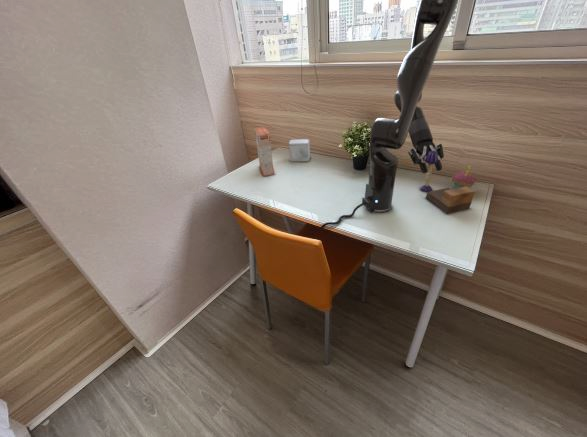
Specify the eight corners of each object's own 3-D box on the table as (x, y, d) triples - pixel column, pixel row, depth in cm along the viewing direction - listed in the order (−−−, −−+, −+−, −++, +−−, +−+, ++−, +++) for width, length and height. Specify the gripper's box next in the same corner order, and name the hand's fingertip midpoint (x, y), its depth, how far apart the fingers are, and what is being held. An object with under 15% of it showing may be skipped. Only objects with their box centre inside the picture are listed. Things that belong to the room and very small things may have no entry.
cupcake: (475, 194, 107) (485, 166, 100) (452, 194, 109) (460, 166, 102) (468, 184, 114) (477, 157, 107) (446, 184, 116) (453, 157, 109)
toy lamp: (425, 193, 111) (434, 154, 102) (416, 189, 114) (424, 151, 105) (433, 190, 113) (443, 151, 103) (424, 186, 116) (432, 148, 107)
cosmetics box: (290, 161, 150) (288, 143, 144) (292, 157, 155) (290, 139, 149) (308, 161, 148) (307, 142, 142) (310, 157, 153) (309, 138, 147)
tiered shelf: (446, 213, 98) (451, 196, 94) (425, 198, 108) (429, 181, 104) (469, 208, 100) (475, 191, 96) (446, 194, 110) (451, 177, 105)
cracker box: (275, 174, 137) (269, 133, 125) (263, 176, 136) (256, 135, 125) (270, 164, 149) (265, 125, 137) (259, 166, 148) (253, 127, 136)
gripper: (408, 130, 105) (421, 170, 102) (441, 125, 107) (455, 164, 104) (399, 139, 112) (411, 177, 109) (429, 134, 115) (442, 171, 112)
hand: (432, 171), depth 107 cm, fingers open, 5 cm apart
